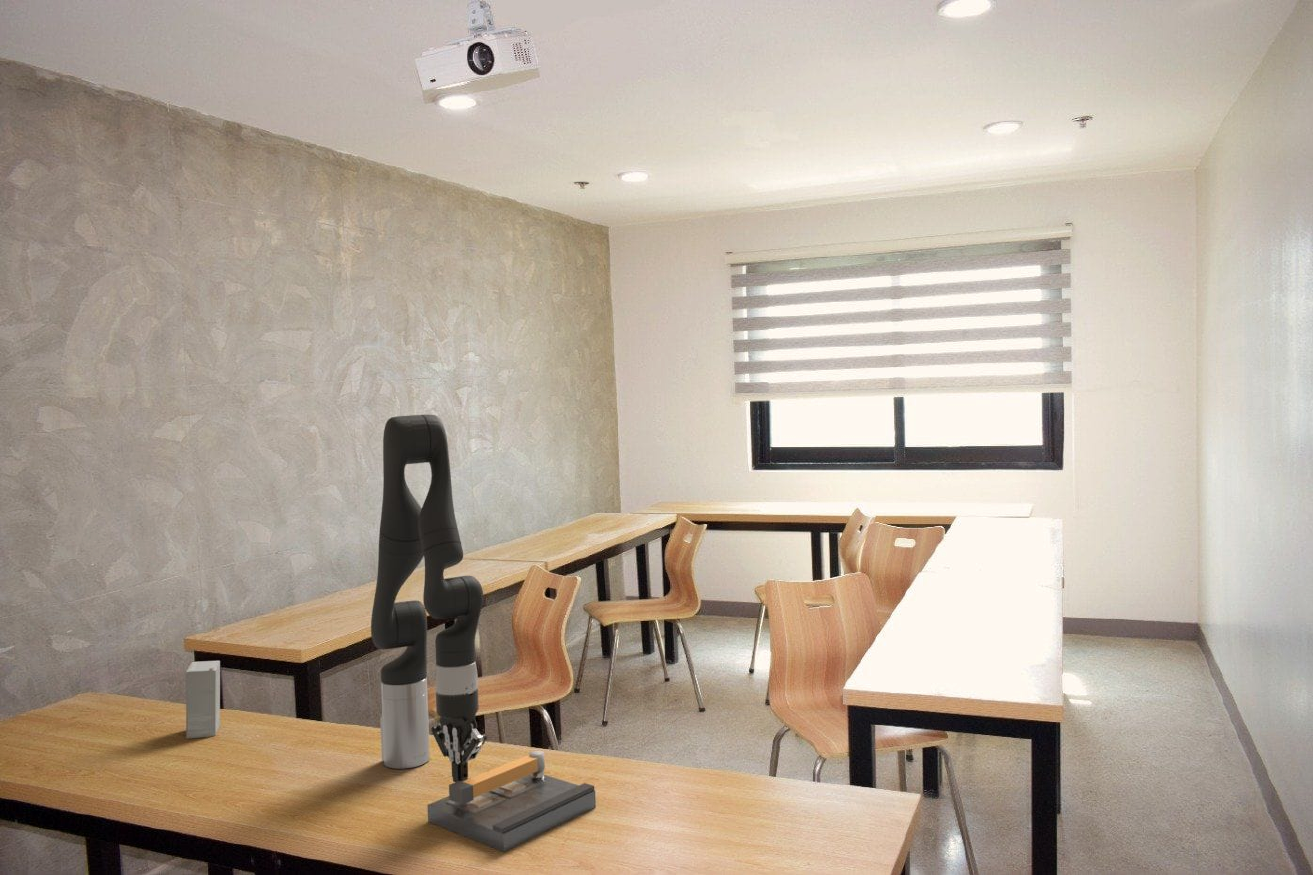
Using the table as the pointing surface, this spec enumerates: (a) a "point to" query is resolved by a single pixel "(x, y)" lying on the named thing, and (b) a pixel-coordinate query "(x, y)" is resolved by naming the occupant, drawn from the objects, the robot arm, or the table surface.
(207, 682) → the skincare box
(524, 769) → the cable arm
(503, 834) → the plate
